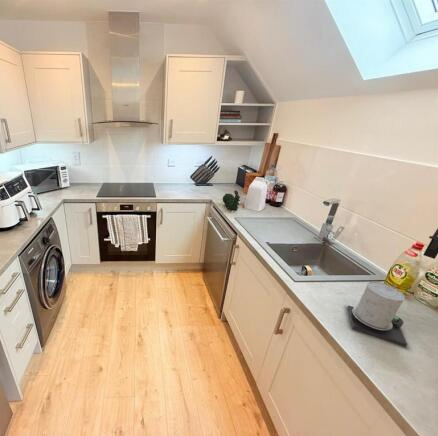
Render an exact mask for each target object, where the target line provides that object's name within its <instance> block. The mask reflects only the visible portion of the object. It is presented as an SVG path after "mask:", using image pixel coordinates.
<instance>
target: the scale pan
mask: <svg viewBox="0 0 438 436" xmlns="http://www.w3.org/2000/svg"><path fill="white" fill-rule="evenodd" d="M353 307H354V308H353V310H352V312H353V314H354V316H355V317H356V318H357V319H358V320H359V321H361V322H362V323H364V324H366V325H367V326H369V327H372V328H374V329H378V330H383V331H387V330H391V329H392V327H393V325H392V323H390V326H389V327H387V328H380V327H376V326H373V325H370V324H368V323H366V322H365V321H363V320H362V319H360V318H359V317H358V316H357V315H356V313H355V309H356V308H357V306H353Z"/></svg>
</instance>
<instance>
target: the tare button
mask: <svg viewBox="0 0 438 436" xmlns="http://www.w3.org/2000/svg"><path fill="white" fill-rule="evenodd" d="M399 318H400V317H399V316H398V315H397V314H395V316H394V318H393V320H392V321H395V322H397V321H398V319H399Z"/></svg>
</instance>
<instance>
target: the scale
mask: <svg viewBox="0 0 438 436" xmlns="http://www.w3.org/2000/svg"><path fill="white" fill-rule="evenodd" d="M354 307H355V306H351V305H347V313H348V315H349V316H348V317H349V321H350V326H351V329H352V330H354V331H357V332H358V333H359V332H360V333H363V334H365V335H368V336H372V337H375V338H378V339H380V340H384V341H386V342H389V343H392V344H395V345H398V346H401V347H403V348H406V347H407V345H408V343H407V341H406V338H405V336H404V334H403V332H402V329H401V328H402V326H403V325H404V321H403V319H402V318H401V317H399V319H398V321H397V322H395V321H391V323H392V325H393V327H392V329H391V330H387V331H383V330H378V329H374V328H372V327H369V326H367V325H366V324H364V323H362V322H361V321H359V320H358V319H357V318H356V317H355V316H354V314H353V312H352V310H353V308H354Z"/></svg>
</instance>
